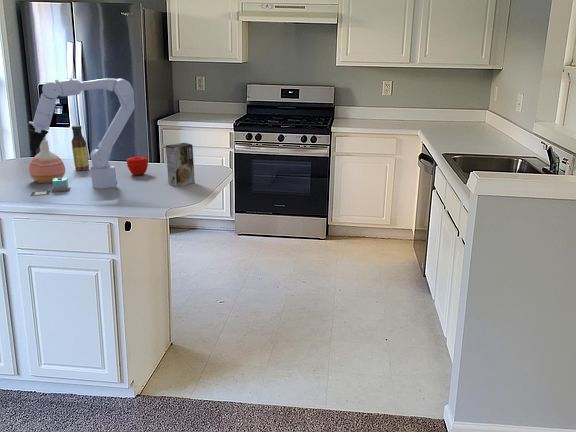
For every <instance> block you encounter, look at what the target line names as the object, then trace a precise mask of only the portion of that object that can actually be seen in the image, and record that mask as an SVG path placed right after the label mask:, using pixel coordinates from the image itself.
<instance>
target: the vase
mask: <svg viewBox="0 0 576 432" xmlns="http://www.w3.org/2000/svg"><path fill="white" fill-rule="evenodd" d="M49 146H50V145H49V142H48V140H44V139H43V140H42V142H41V144H40V146H39V152H38V153H37V154H35V155H34V157H33V158H32V159H31V160H30V162H29V164H28V172H29V173H28V174H29V176H30V178H31V179H32V180H33V181H34V182H35V183H38V184H53V183H52V181H53V178H64V177H65V174H66V166H65V164H64V162H63V160H62V158H60V156H58V155H56V154H55V153H54V152H51V151H50V148H49Z"/></svg>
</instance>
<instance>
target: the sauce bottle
mask: <svg viewBox="0 0 576 432" xmlns="http://www.w3.org/2000/svg"><path fill="white" fill-rule="evenodd" d="M82 128H83V127H82V125H73V126H71V129H72V136H73V137H72V139H71V150H72V156H73V165H74V167H75V168H74V169H75V171H79V172H81V171H87V170H89V169H90V161H89V154H88V147H87V142H86V140H85V138H84V136H83V132H82Z"/></svg>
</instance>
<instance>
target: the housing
mask: <svg viewBox="0 0 576 432" xmlns="http://www.w3.org/2000/svg"><path fill="white" fill-rule="evenodd" d="M51 184H52V189H53V191H54V192H56V193H62V192H61V191H68V188H69V182H68V177H63V178H53V181H52V183H51Z"/></svg>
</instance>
